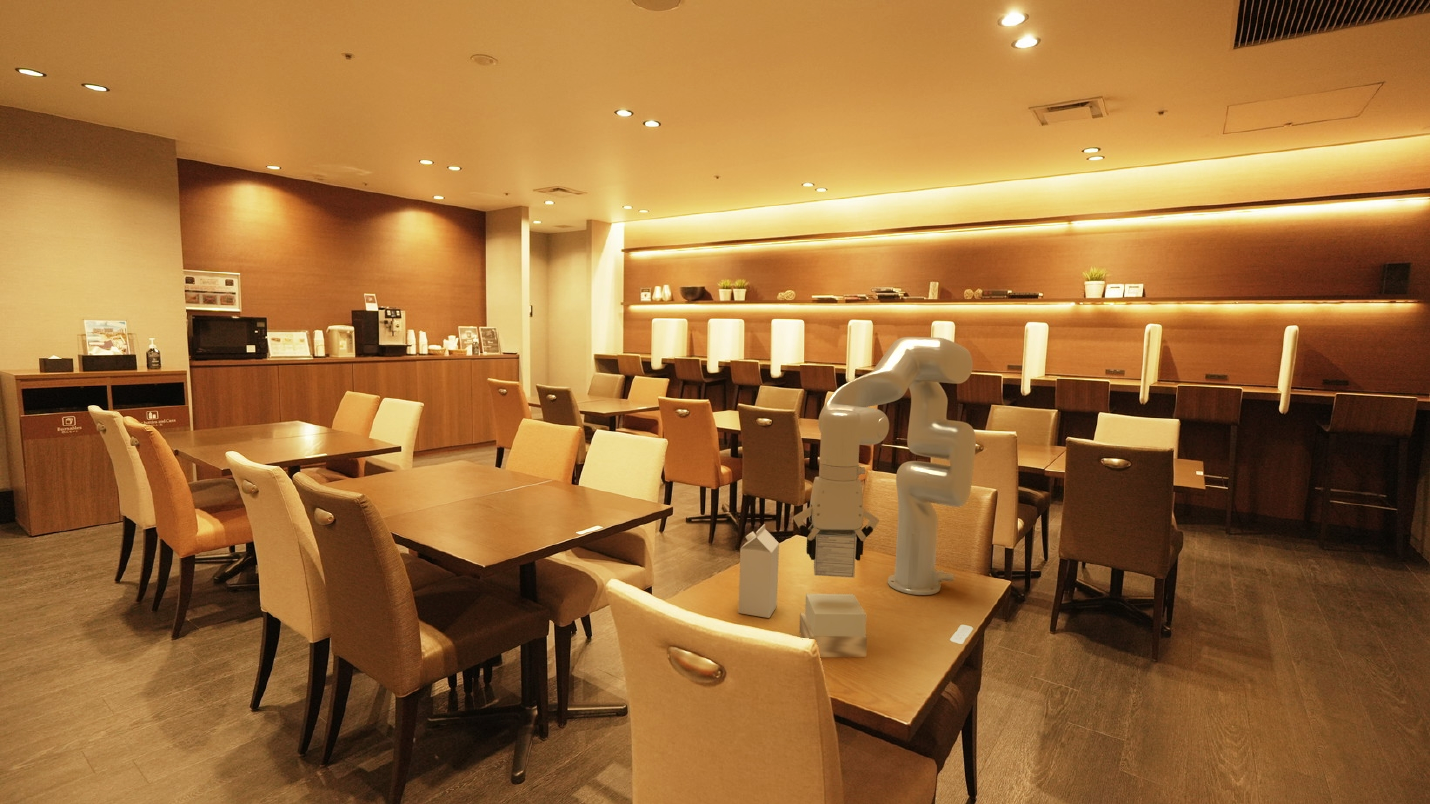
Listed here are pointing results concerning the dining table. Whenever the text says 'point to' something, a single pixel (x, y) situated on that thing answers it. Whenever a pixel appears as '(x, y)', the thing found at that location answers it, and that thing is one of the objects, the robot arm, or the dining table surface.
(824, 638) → the tower base
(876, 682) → the dining table surface
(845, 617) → the tower top
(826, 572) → the medicine box
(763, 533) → the milk carton
